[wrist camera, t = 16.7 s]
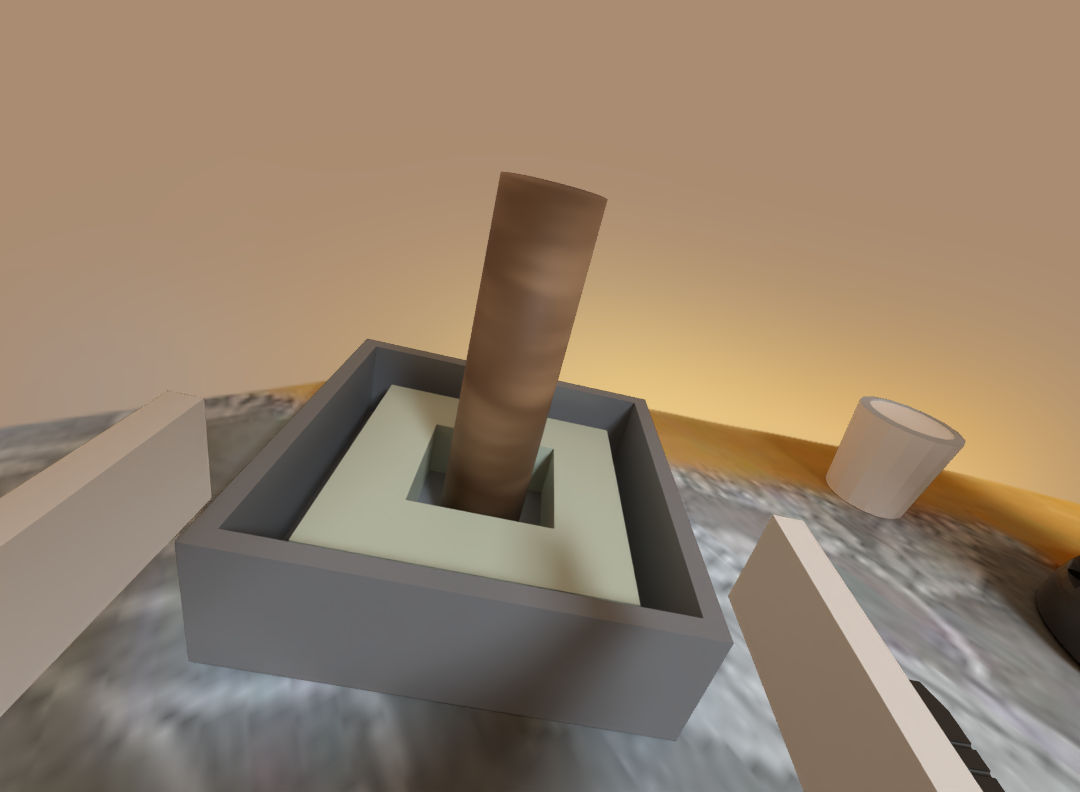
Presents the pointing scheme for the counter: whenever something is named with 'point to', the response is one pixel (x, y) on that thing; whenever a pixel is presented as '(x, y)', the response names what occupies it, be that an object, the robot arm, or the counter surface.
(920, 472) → the white cup
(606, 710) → the open box
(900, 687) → the robot arm
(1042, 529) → the counter surface
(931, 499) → the counter surface
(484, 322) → the peg
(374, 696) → the counter surface
